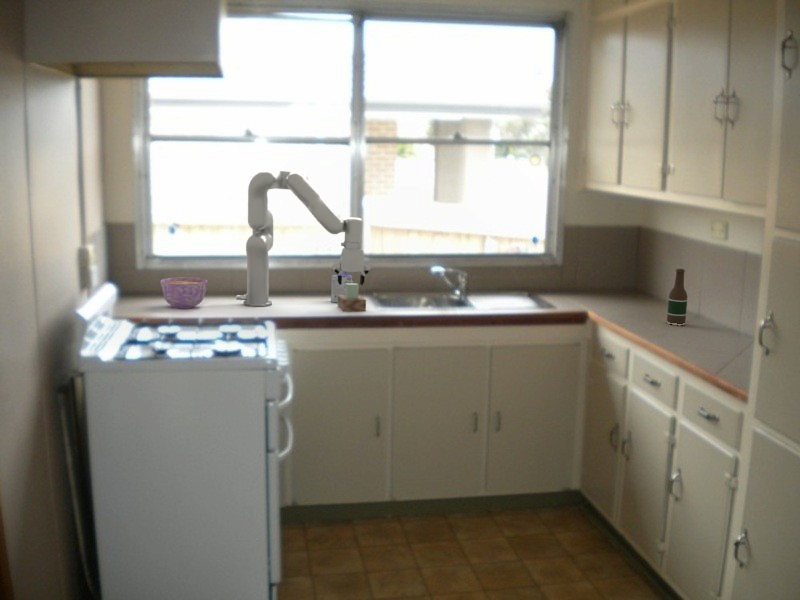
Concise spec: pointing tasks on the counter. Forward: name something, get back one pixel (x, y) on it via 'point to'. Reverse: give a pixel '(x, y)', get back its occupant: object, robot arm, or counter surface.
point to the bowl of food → (183, 291)
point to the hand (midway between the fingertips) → (350, 284)
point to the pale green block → (351, 290)
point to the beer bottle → (677, 300)
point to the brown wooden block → (351, 303)
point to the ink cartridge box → (336, 287)
